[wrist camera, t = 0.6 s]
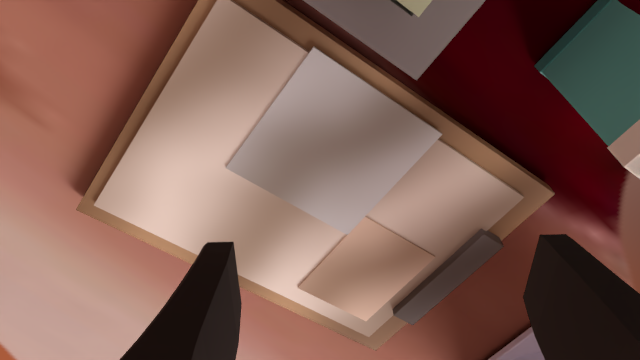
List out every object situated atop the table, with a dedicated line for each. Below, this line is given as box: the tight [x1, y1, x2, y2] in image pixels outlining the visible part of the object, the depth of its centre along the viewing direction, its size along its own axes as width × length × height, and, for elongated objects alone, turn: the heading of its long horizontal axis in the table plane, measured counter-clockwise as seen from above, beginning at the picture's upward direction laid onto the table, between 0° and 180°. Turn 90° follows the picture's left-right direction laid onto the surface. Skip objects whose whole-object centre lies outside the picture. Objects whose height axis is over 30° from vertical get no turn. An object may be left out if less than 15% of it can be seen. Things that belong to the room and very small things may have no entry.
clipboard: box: [76, 0, 555, 351], centre depth 23 cm, size 16×12×1 cm
